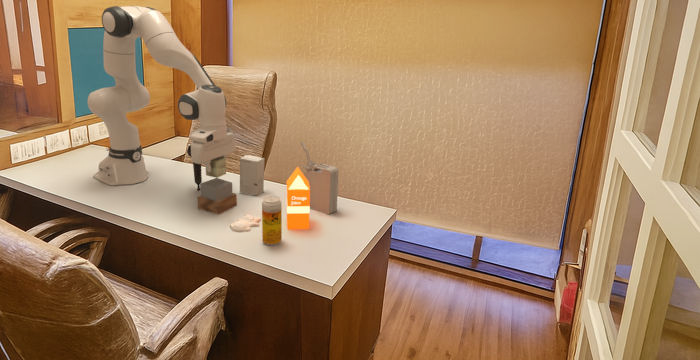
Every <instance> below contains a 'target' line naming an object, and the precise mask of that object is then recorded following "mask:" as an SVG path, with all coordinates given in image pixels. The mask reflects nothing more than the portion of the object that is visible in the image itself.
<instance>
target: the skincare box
mask: <svg viewBox="0 0 700 360" xmlns="http://www.w3.org/2000/svg"><path fill="white" fill-rule="evenodd" d="M239 161H240V162H239V193H240V194H246V195H252V196H255V197H258V196H259V195H260V194H262V193H264V186H265V184H264V182H265V157H261V156H256V155H250V154H246V155H244V156H241V157H240V158H239Z"/></svg>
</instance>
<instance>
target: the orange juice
mask: <svg viewBox="0 0 700 360" xmlns="http://www.w3.org/2000/svg"><path fill="white" fill-rule="evenodd" d="M310 209H311V208H310V187H309V181H308V180H307V179H306V177H305V176H304V173H303V172H302V171H301V169H300V167H299V166H297V167H296V168H295V169H294V171H293V172H292V174H291V175H290V176H289V178H288V179H287V180H286V228H287V230H309V229H310Z"/></svg>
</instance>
